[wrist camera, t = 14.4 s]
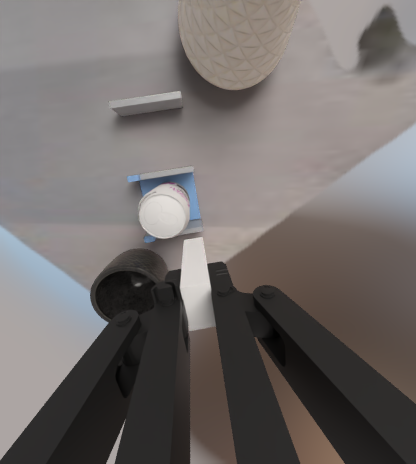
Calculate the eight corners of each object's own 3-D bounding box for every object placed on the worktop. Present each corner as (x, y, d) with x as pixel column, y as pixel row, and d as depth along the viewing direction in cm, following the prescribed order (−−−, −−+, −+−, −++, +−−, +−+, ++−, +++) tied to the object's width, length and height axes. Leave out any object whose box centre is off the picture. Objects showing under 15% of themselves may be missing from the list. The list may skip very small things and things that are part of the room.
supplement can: (148, 211, 45) (128, 232, 31) (159, 175, 42) (143, 181, 28) (182, 222, 46) (179, 248, 32) (194, 189, 44) (197, 200, 30)
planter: (179, 249, 49) (175, 277, 37) (163, 295, 53) (155, 335, 41) (121, 232, 46) (96, 257, 34) (109, 282, 50) (83, 320, 38)
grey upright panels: (120, 110, 38) (105, 99, 32) (181, 101, 39) (180, 88, 32) (151, 231, 47) (145, 242, 40) (202, 222, 47) (204, 232, 40)
